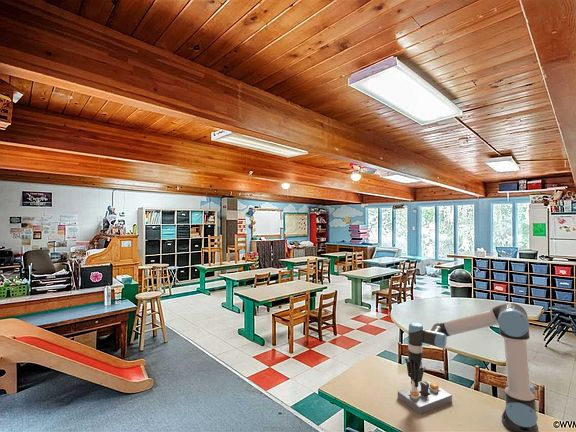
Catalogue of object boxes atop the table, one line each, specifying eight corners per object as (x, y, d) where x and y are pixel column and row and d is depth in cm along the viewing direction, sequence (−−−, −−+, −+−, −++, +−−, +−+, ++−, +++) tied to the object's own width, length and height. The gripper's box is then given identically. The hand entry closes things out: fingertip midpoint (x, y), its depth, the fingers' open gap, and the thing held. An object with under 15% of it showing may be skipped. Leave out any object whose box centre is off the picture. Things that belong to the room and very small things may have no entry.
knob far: (440, 397, 180) (440, 386, 180) (434, 399, 178) (434, 388, 178) (433, 392, 185) (433, 382, 185) (427, 394, 183) (428, 383, 183)
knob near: (420, 404, 174) (421, 392, 174) (414, 406, 172) (415, 395, 172) (414, 399, 178) (414, 388, 178) (408, 401, 176) (408, 390, 176)
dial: (430, 395, 177) (431, 384, 177) (425, 398, 175) (425, 386, 175) (424, 391, 181) (424, 380, 181) (418, 393, 179) (418, 382, 179)
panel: (451, 401, 176) (452, 395, 176) (419, 414, 166) (419, 407, 165) (428, 387, 191) (428, 380, 191) (397, 397, 180) (397, 391, 180)
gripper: (429, 354, 170) (428, 395, 170) (411, 344, 182) (410, 383, 182) (419, 357, 167) (419, 399, 167) (401, 347, 179) (401, 386, 179)
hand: (414, 391), depth 175 cm, fingers closed
